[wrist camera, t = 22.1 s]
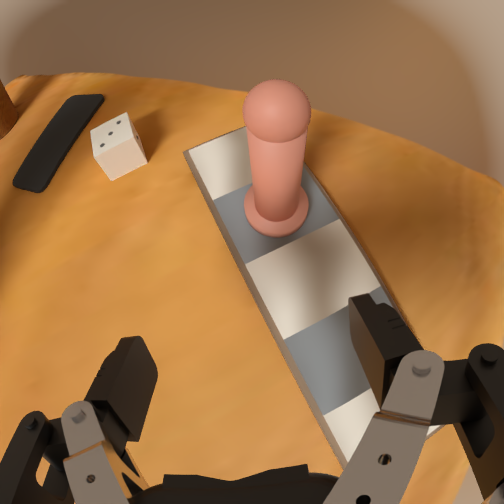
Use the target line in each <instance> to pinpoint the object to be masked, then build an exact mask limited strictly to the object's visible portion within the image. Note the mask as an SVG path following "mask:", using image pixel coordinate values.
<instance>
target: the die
mask: <svg viewBox="0 0 504 504" xmlns="http://www.w3.org/2000/svg"><path fill="white" fill-rule="evenodd" d="M90 133H91V141H92V148H93V155H94V158H95V160H96V161H97V163H98V164H99V165H100V167H101V168H102V169H103V171H104V172H105V173H106V175H107V176H108V177H109V179H110V180H111V181H113V180H115V179H117V178H119V177H121V176H123V175H125V174H127V173H129V172H131V171H133V170H135V169H137V168H139V167H141V166H143V165H145V164H147V163H148V162H147V159H146V156H145V153H144V149H143V146H142V143H141V140H140V137H139V135H138V133H137V131H136V129H135V127H134V125H133V123H132V121H131V119H130V117H129V115H128V113H127V112H126V113H123V114H121V115H119V116H117V117H115V118H113V119H111V120H109V121H107V122H106V123H104V124H102V125H100V126H98V127H96V128H94V129H92V130H91V131H90Z"/></svg>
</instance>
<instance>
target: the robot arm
mask: <svg viewBox="0 0 504 504" xmlns="http://www.w3.org/2000/svg"><path fill="white" fill-rule="evenodd" d="M348 307H349V322H350V335H351V340H352V344H353V347H354V349H355V351H356V354H357V356H358V358H359V361H360V363H361V365H362V368H363V370H364V372H365V375H366V377H367V379H368V382H369V384H370V387H371V389H372V391H373V394H374V396H375V399H376V401H377V404H378V406H379V409H380V411H379V412H375V414H374V415H373V417H372V419H371V421H370V423H369V425H368V427H367V429H366V431H365V433H364V435H363V437H362V438H361V440H360V442H359V444H358V446H357V448H356V450H355V451H354V453H353V455H352V457H351V459H350V460H349V462H348V464H347V466H346V467H345V469H344V471H343V472H342V474H341V476H340V477H336V476H333V475H328V474H323V473H309V470H308V466H307V464H303V465H298V466H292V467H285V468H278V469H271V470H267V471H264V472H261V473H258V474H255V475H252V476H249V477H245V478H242V479H239V480H235V481H226V480H220V479H215V478H210V477H205V476H200V475H168V474H164V478H163V484H159V485H155V486H152V487H150V486H149V485H148V484H147V482H146V481H145V479H144V477H143V476H142V474H141V472H140V470H139V469H138V467H137V465H136V463H135V461H134V459H133V458H132V456H131V454H130V452H129V450H128V449H127V448H126V447H125V446H126V443H127V441H134V442H139V439H140V435H141V432H142V429H143V425H144V422H145V418H146V415H147V411H148V408H149V405H150V401H151V398H152V395H153V392H154V388H155V385H156V382H157V378H158V372H157V367H156V364H155V362H154V360H153V358H152V356H151V354H150V352H149V350H148V348H147V346H146V344H145V342H144V340H143V339H142V337H140V336H133V337H124V338H121V340H120V341H119V343H118V345H117V347H116V349H115V351H112V352H111V353H110V354H109V355H108V356H107V357H106V358H105V360H104V362H103V364H102V365H101V367H100V370H99V371H98V373H97V375H96V376H97V377H95V379H94V381H93V383H92V385H91V387H90V389H89V391H88V393H87V395H86V397H85V399H84V401H78V402H75V403H73V404H71V405H70V406H68V407H67V408H66V409H65V411H64V412H63V414H62V417H61V418H57V419H52V420H48V419H47V418H46V416H45V415H44V414H43V413H42V412H40V411H33V412H31V413H29V414H27V415H26V416H25V417H24V418H23V419H22V420H21V422H20V424H19V426H18V428H17V429H16V431H15V433H14V435H13V437H12V439H11V442H10V444H9V446H8V448H7V450H6V452H5V454H4V456H3V458H2V461H1V463H0V504H74V502H75V503H76V504H399V503H400V501H401V499H402V497H403V494H404V492H405V490H406V488H407V485H408V483H409V481H410V478H411V476H412V474H413V471H414V469H415V466H416V464H417V461H418V458H419V456H420V453H421V450H422V447H423V445H424V442H425V439H426V436H427V433H428V430H429V426H437V425H446V424H453V425H454V428H455V430H456V432H457V434H458V437H459V439H460V441H461V443H462V446H463V448H464V450H465V453H466V455H467V458H468V460H469V462H470V465H471V467H472V470H473V472H474V475H475V478H476V480H477V483H478V485H479V488H480V491H481V494H482V496H483V499H484V502H482V503H481V504H504V350H503V349H502V348H501V347H499V346H497V345H494V344H489V343H487V344H480V345H478V346H476V347H474V348H473V349H472V350H471V352H470V354H469V357H468V359H462V360H454V361H443V360H442V358H441V357H440V356H439V355H437V354H436V353H434V352H431V351H427V350H424V349H423V348H422V346H421V345H420V343H419V342H418V341H417V339H416V338H415V336H414V335H413V333H412V332H411V331H410V329H409V328H408V326H406V324H405V322H404V321H403V319H401V317H400V315H399V314H398V312H397V311H396V310H395V308H393V307H391V306H389V305H388V304H386V303H380V304H377V305H376V303H375V302H374V300H373V299H372V297H371V296H370V294H369V293H365V294H361V295H357V296H353V297H349V299H348ZM42 456H43V457H44V458H45V459H46V460H47V461H48V462H49V463H50V467H49V470H48V472H47V475H46V478H45V481H44V484H43V487H42V486H40V485H39V484H38V482H37V480H36V471H37V468H38V466H39V463H40V461H41V458H42Z"/></svg>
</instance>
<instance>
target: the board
mask: <svg viewBox="0 0 504 504" xmlns="http://www.w3.org/2000/svg"><path fill="white" fill-rule="evenodd" d="M183 154H184V157H185V159H186V161H187V163H188V165H189V167H190V169H191V171H192V173H193V175H194V178H195V180H196V182H197V184H198V186H199V188H200V190H201V192H202V194H203V196H204V198H205V200H206V203H207V205H208V207H209V209H210V211H211V213H212V215H213V217H214V219H215V221H216V223H217V225H218V227H219V229H220V231H221V233H222V235H223V237H224V239H225V242H226V244H227V246H228V248H229V250H230V252H231V254H232V256H233V258H234V260H235V262H236V264H237V266H238V268H239V270H240V272H241V274H242V276H243V278H244V280H245V282H246V284H247V286H248V288H249V290H250V292H251V294H252V296H253V298H254V300H255V302H256V304H257V306H258V308H259V310H260V312H261V314H262V316H263V318H264V320H265V322H266V324H267V326H268V328H269V329H270V331H271V333H272V335H273V337H274V339H275V341H276V343H277V345H278V347H279V349H280V351H281V353H282V355H283V357H284V359H285V361H286V363H287V365H288V366H289V368H290V370H291V372H292V374H293V376H294V378H295V380H296V382H297V384H298V386H299V388H300V390H301V391H302V393H303V395H304V397H305V399H306V401H307V403H308V405H309V407H310V409H311V410H312V412H313V414H314V416H315V418H316V420H317V422H318V424H319V426H320V427H321V429H322V431H323V433H324V435H325V437H326V439H327V441H328V442H329V444H330V446H331V448H332V450H333V452H334V454H335V455H336V457H337V459H338V461H339V463H340V465H341V466H342V468H343V470H344V469H345V467H346V466H347V464H348V462H349V460H350V459H351V457H352V455H353V453H354V451H355V450H356V448H357V446H358V444H359V442H360V440H361V438H362V437H363V435H364V433H365V431H366V429H367V427H368V425H369V423H370V421H371V419H372V417H373V415H374V414H375V412H379V411H380V409H379V406H378V404H377V401H376V399H375V396H374V394H373V391H372V389H371V387H370V384H369V382H368V379H367V377H366V375H365V372H364V370H363V368H362V365H361V363H360V361H359V358H358V356H357V354H356V351H355V349H354V347H353V344H352V340H351V335H350V322H349V307H348V299H349V297H353V296H357V295H361V294H365V293H369V294H370V296H371V297H372V299H373V300H374V302H375V303H376V305H377V304H380V303H386V304H388V305H389V306H391V307H393V308H395V310H396V311H397V312H398V314H399V315H400V317H401V319H403V321H404V322H405V320H404V318H403V316H402V315H401V313H400V311H399V309H398V307H397V306H396V304H395V302H394V300H393V298H392V297H391V295H390V293H389V291H388V290H387V288H386V286H385V284H384V283H383V281H382V279H381V278H380V276H379V274H378V272H377V271H376V269H375V267H374V266H373V264H372V262H371V261H370V259H369V258H368V256H367V254H366V253H365V251H364V249H363V248H362V246H361V245H360V243H359V241H358V240H357V238H356V237H355V235H354V234H353V232H352V230H351V229H350V227H349V226H348V224H347V223H346V221H345V220H344V218H343V217H342V215H341V214H340V212H339V211H338V209H337V208H336V206H335V205H334V203H333V202H332V200H331V199H330V197H329V196H328V194H327V193H326V192H325V190H324V189H323V187H322V186H321V184H320V183H319V182H318V180H317V179H316V177H315V176H314V175H313V173H312V172H311V170H310V169H309V168H308V166H307V165H306V163H305V162H303V170H302V178H301V187H302V188H303V189H304V191H305V192H306V194H307V197H308V202H309V207H308V212H307V217H306V220H305V222H304V224H303V225H302V227H301V228H300V229H299V230H297V231H296V232H295V233H293V234H291V235H289V236H285V237H280V238H273V237H268V236H264V235H262V234H260V233H258V232H257V231H255V230H254V229H253V228H252V227H251V226H250V224H249V223H248V221H247V219H246V215H245V209H244V199H245V195H246V193H247V191H248V190H249V188H250V187H251V186H252V185H253V184H252V174H251V165H250V156H249V147H248V138H247V129H246V126H244V127H242V128H239V129H237V130H234V131H231V132H229V133H226V134H224V135H221V136H219V137H216V138H214V139H212V140H209V141H207V142H204V143H202V144H200V145H197V146H195V147H193V148H191V149H188V150H186V151H184V152H183ZM405 324H406V322H405ZM406 326H407V324H406ZM444 426H445V425H437V426H429V430H428V433H427V436H426V439H425V441H426V440H427V439H428V438H430V437H431V436H432V435H433V434H435V433H436V432H437V431H439V430H440V429H441V428H442V427H444Z"/></svg>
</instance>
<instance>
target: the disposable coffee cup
mask: <svg viewBox="0 0 504 504" xmlns="http://www.w3.org/2000/svg"><path fill="white" fill-rule="evenodd" d="M17 118H18V112H17V110H16V108H15V107H14V105H13V103H12V101H11V99H10V97H9V95H8V93H7V92H6V90H5V88H4V86H3V84H2V82H1V80H0V139H1V138H2V137H4V136H5V135H6V134H7V133H8V132H9V131H10V130H11V128H12V127H13V126H14V124H15V122H16V121H17Z"/></svg>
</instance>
